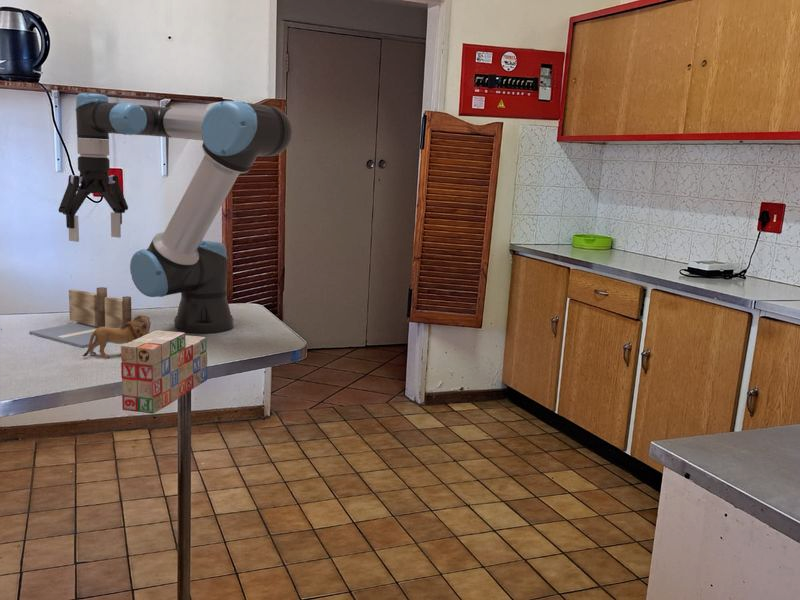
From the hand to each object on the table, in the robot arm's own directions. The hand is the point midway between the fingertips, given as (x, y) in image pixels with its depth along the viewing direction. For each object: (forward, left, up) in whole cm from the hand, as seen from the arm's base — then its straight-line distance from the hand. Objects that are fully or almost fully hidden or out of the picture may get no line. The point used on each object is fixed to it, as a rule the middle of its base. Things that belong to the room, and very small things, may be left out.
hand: (95, 239), depth 193 cm
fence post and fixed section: (-14, +6, -22) cm, 27 cm away
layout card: (-10, +10, -22) cm, 26 cm away
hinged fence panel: (-3, +6, -21) cm, 22 cm away
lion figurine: (-30, +17, -22) cm, 41 cm away
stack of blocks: (-59, +30, -22) cm, 70 cm away
